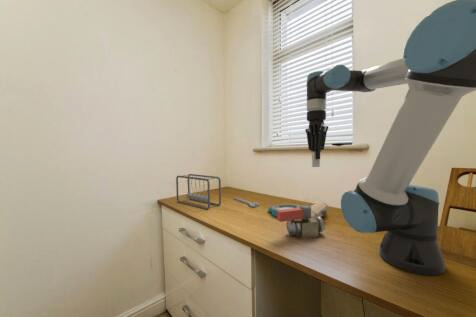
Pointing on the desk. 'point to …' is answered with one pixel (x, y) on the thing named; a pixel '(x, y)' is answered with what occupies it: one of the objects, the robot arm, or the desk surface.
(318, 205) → the butterfly valve
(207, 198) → the newton's cradle
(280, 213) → the lever
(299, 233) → the valve body
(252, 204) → the adjustable wrench
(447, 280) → the desk surface
